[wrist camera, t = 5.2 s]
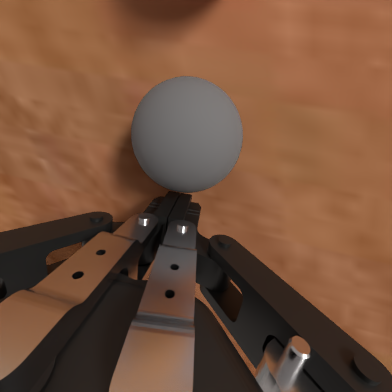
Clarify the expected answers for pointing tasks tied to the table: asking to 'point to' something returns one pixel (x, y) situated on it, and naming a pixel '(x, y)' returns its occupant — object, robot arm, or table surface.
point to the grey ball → (186, 134)
